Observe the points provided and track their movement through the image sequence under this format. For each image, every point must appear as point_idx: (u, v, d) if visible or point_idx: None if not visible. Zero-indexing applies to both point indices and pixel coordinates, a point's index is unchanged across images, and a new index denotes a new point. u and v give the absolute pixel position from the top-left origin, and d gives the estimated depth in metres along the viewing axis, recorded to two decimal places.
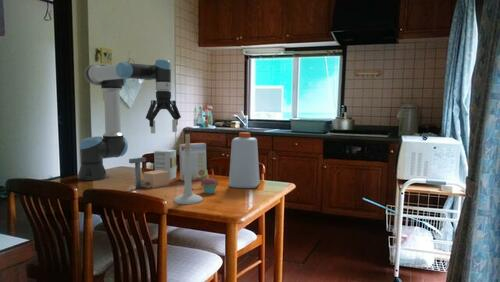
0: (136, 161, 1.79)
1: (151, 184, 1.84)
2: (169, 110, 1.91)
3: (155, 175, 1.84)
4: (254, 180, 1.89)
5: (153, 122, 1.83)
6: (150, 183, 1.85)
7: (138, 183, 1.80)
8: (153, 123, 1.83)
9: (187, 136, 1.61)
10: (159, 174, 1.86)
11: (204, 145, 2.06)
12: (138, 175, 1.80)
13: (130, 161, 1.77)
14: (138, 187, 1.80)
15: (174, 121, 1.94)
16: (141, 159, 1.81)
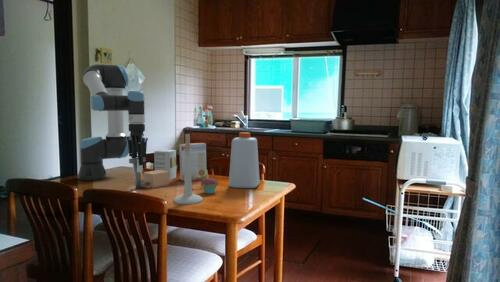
0: (136, 161, 1.79)
1: (151, 184, 1.84)
2: None
3: (155, 175, 1.84)
4: (254, 180, 1.89)
5: None
6: (150, 183, 1.85)
7: (138, 183, 1.80)
8: None
9: (187, 136, 1.61)
10: (159, 174, 1.86)
11: (204, 145, 2.06)
12: (138, 175, 1.80)
13: (130, 161, 1.77)
14: (138, 187, 1.80)
15: None
16: None
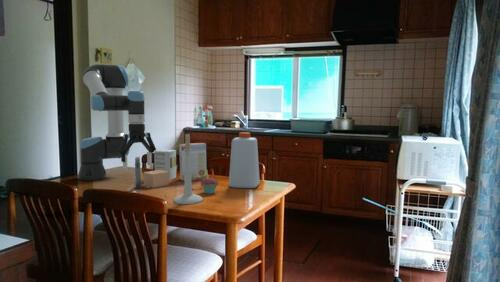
0: None
1: (151, 184, 1.84)
2: (143, 143, 1.82)
3: (155, 175, 1.84)
4: (254, 180, 1.89)
5: (125, 157, 1.74)
6: (150, 183, 1.85)
7: (140, 183, 1.81)
8: (125, 158, 1.74)
9: (187, 136, 1.61)
10: (159, 174, 1.86)
11: (204, 145, 2.06)
12: None
13: (137, 161, 1.76)
14: (140, 187, 1.81)
15: (149, 154, 1.85)
16: None
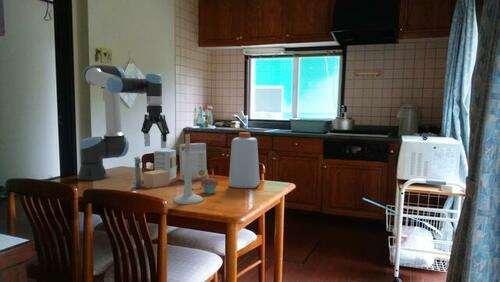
0: None
1: (151, 184, 1.84)
2: None
3: (155, 175, 1.84)
4: (254, 180, 1.89)
5: None
6: (150, 183, 1.85)
7: (140, 183, 1.81)
8: None
9: (187, 136, 1.61)
10: (159, 174, 1.86)
11: (204, 145, 2.06)
12: None
13: (138, 161, 1.77)
14: (140, 187, 1.81)
15: None
16: None
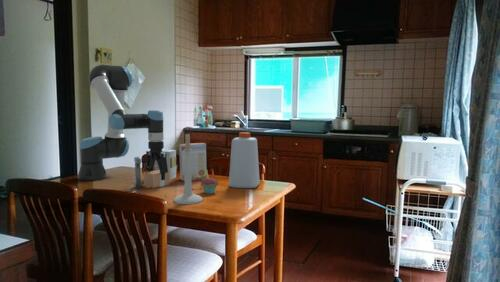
0: None
1: (151, 184, 1.84)
2: None
3: (155, 175, 1.84)
4: (254, 180, 1.89)
5: None
6: (150, 183, 1.85)
7: (140, 183, 1.81)
8: None
9: (187, 136, 1.61)
10: None
11: (204, 145, 2.06)
12: None
13: (139, 161, 1.77)
14: (140, 187, 1.81)
15: None
16: None
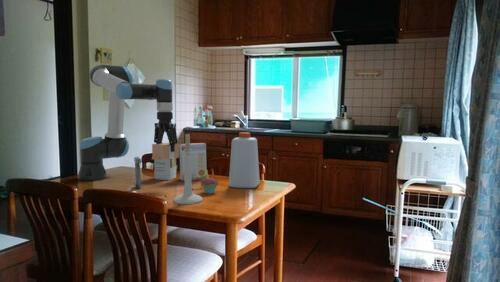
0: None
1: (160, 156, 1.77)
2: None
3: (164, 146, 1.77)
4: (254, 180, 1.89)
5: None
6: (159, 155, 1.78)
7: (140, 183, 1.81)
8: None
9: (187, 136, 1.61)
10: (168, 145, 1.79)
11: (204, 145, 2.06)
12: None
13: (139, 161, 1.77)
14: (140, 187, 1.81)
15: None
16: None
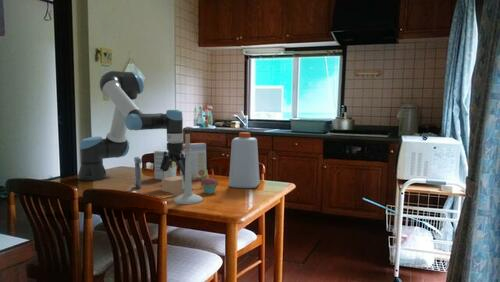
0: None
1: (170, 191, 1.74)
2: None
3: (174, 182, 1.73)
4: (254, 180, 1.89)
5: (164, 173, 1.82)
6: (168, 190, 1.74)
7: (140, 183, 1.81)
8: (164, 174, 1.82)
9: (187, 136, 1.61)
10: (178, 181, 1.75)
11: (204, 145, 2.06)
12: None
13: (139, 161, 1.77)
14: (140, 187, 1.81)
15: None
16: None
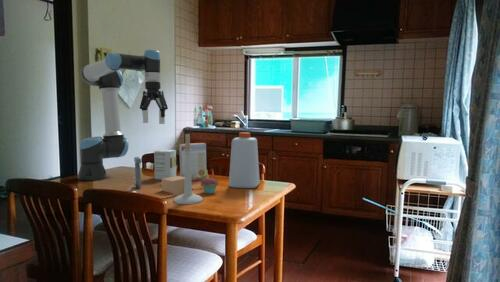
0: None
1: (170, 191, 1.74)
2: None
3: (174, 182, 1.73)
4: (254, 180, 1.89)
5: (143, 112, 1.93)
6: (168, 190, 1.74)
7: (140, 183, 1.81)
8: (143, 113, 1.93)
9: (187, 136, 1.61)
10: (178, 181, 1.75)
11: (204, 145, 2.06)
12: None
13: (139, 161, 1.77)
14: (140, 187, 1.81)
15: None
16: None
